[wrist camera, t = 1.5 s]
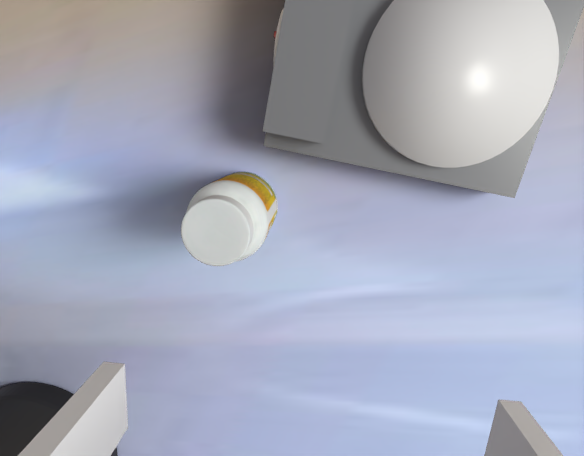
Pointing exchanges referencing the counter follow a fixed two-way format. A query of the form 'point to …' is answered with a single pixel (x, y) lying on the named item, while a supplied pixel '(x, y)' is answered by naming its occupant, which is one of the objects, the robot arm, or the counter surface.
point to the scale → (419, 84)
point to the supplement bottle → (229, 219)
